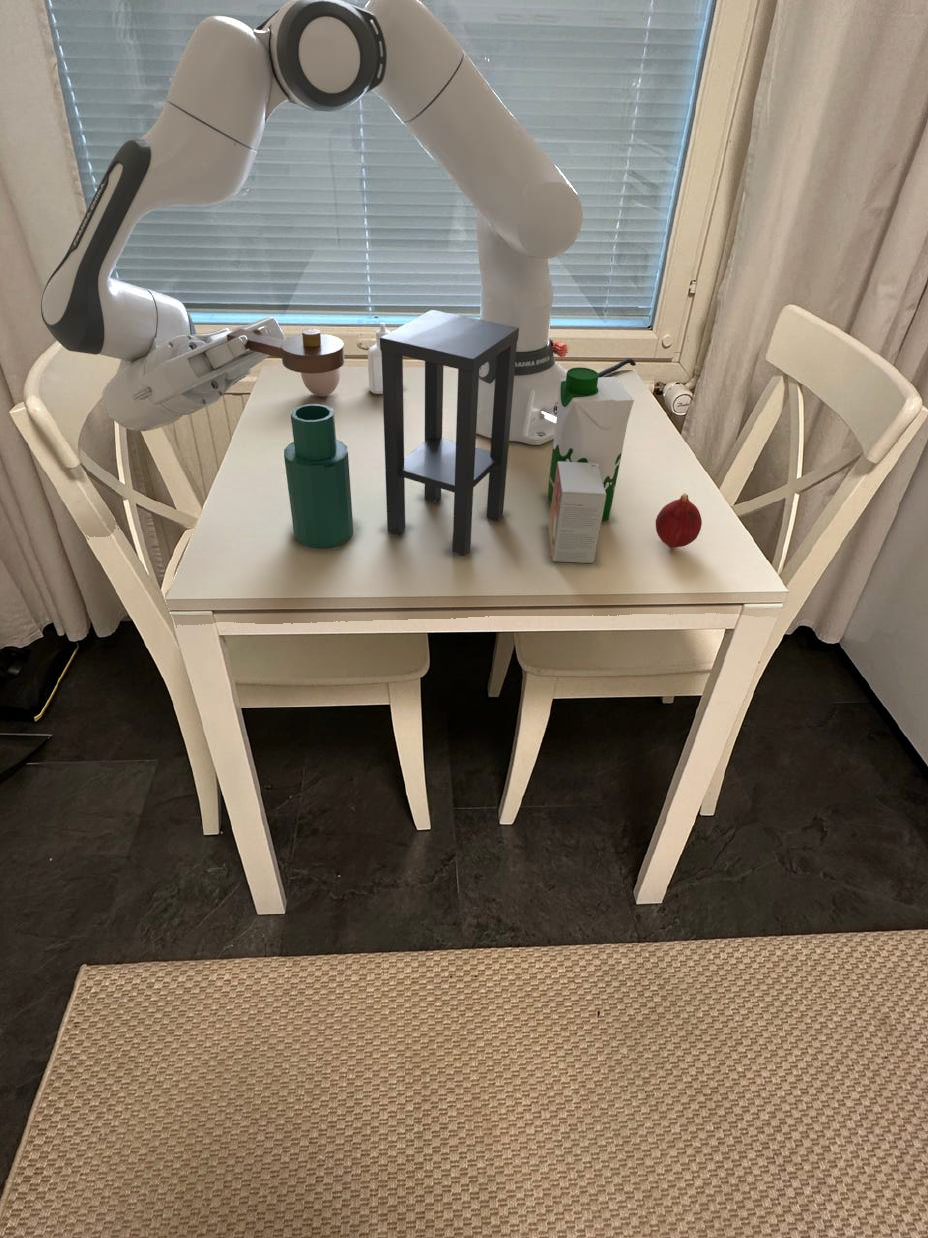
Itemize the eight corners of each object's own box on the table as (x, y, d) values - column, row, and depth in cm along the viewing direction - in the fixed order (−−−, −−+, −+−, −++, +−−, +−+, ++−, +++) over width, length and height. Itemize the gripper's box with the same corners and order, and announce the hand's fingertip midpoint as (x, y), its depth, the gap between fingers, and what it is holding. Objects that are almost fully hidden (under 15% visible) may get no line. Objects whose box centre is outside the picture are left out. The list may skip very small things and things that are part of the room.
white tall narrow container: (399, 395, 137) (398, 328, 129) (368, 394, 137) (365, 326, 129) (400, 385, 140) (399, 319, 132) (370, 384, 140) (367, 318, 132)
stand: (386, 531, 102) (379, 337, 86) (430, 492, 111) (431, 309, 94) (464, 556, 98) (473, 359, 82) (504, 514, 107) (519, 327, 90)
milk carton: (540, 494, 111) (555, 360, 98) (599, 491, 112) (621, 358, 100) (555, 527, 105) (574, 387, 92) (617, 523, 106) (644, 385, 93)
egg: (349, 395, 136) (346, 341, 130) (320, 406, 132) (315, 351, 126) (324, 384, 139) (320, 331, 133) (295, 395, 135) (289, 340, 129)
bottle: (338, 511, 106) (328, 394, 95) (363, 538, 101) (356, 418, 90) (285, 525, 102) (269, 406, 92) (308, 554, 97) (294, 432, 87)
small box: (547, 528, 104) (556, 459, 97) (588, 530, 104) (599, 461, 97) (551, 562, 98) (560, 491, 91) (594, 564, 98) (607, 493, 91)
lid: (214, 350, 88) (209, 320, 86) (254, 332, 93) (250, 304, 90) (320, 378, 83) (317, 347, 80) (356, 358, 87) (355, 328, 85)
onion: (702, 556, 100) (717, 504, 95) (663, 562, 99) (677, 509, 94) (680, 532, 105) (694, 481, 99) (643, 538, 103) (654, 486, 98)
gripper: (110, 376, 88) (175, 337, 80) (229, 327, 103) (295, 289, 94) (141, 426, 91) (207, 393, 82) (253, 371, 105) (319, 339, 97)
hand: (255, 337), depth 88 cm, fingers closed on lid, 2 cm apart
